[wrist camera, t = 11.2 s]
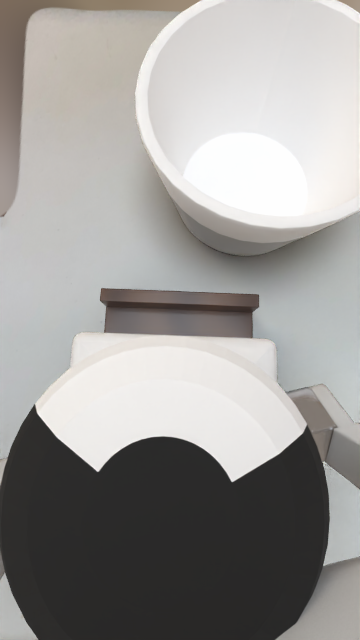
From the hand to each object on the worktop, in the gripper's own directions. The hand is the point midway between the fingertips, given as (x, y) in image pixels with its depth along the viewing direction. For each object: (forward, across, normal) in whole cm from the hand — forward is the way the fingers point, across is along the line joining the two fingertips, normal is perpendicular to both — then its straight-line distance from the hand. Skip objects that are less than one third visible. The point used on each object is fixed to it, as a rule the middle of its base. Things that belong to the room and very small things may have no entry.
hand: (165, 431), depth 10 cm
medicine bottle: (+4, 0, +5) cm, 7 cm away
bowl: (+25, -11, -1) cm, 28 cm away
